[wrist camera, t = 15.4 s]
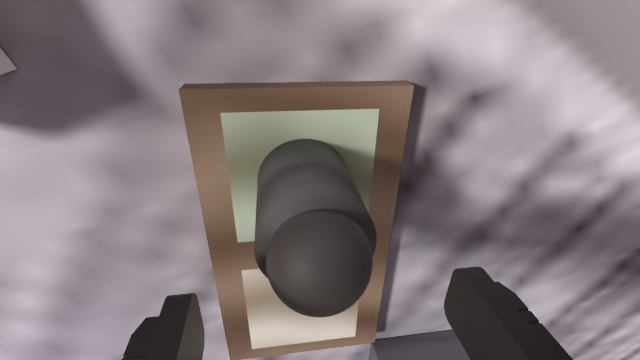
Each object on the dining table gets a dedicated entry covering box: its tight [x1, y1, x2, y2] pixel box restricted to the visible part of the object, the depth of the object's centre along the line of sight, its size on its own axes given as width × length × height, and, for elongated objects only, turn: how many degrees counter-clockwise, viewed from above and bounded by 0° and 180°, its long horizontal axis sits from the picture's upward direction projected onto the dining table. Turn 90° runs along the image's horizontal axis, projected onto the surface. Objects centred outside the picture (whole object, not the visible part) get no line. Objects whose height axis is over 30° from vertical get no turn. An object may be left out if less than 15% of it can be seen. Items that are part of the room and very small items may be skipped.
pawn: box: [254, 139, 377, 317], centre depth 13 cm, size 4×4×7 cm
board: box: [179, 81, 414, 360], centre depth 19 cm, size 18×10×1 cm, turn 179°
